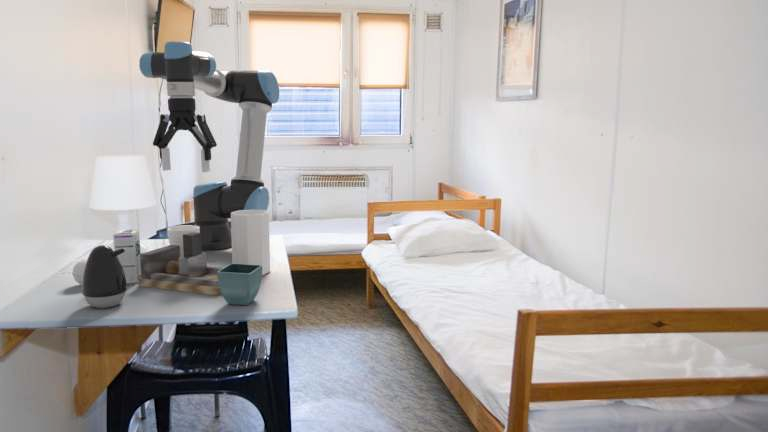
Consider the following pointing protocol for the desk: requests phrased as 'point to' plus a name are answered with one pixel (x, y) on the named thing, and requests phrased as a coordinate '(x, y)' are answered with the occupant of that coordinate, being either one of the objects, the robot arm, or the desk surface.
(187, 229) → the foam cup
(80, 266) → the white ball
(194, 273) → the block
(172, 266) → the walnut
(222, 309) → the desk surface
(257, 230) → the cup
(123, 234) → the syrup box
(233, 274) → the flower pot
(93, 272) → the pump dispenser
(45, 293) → the desk surface
